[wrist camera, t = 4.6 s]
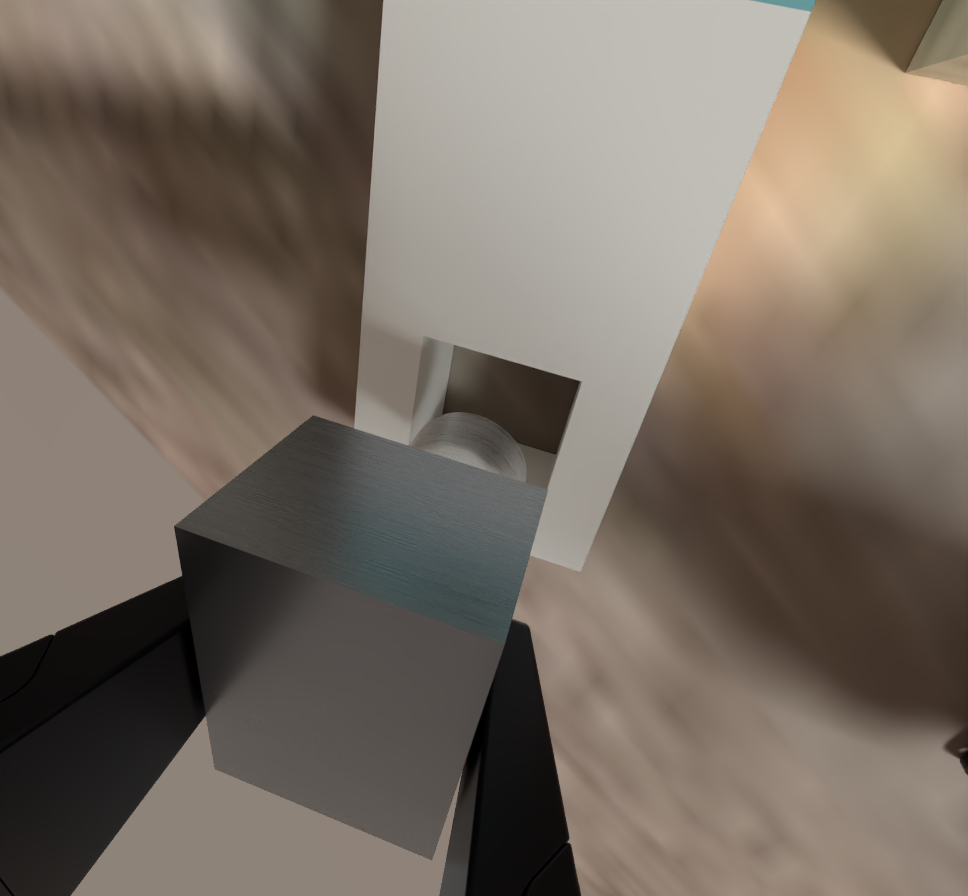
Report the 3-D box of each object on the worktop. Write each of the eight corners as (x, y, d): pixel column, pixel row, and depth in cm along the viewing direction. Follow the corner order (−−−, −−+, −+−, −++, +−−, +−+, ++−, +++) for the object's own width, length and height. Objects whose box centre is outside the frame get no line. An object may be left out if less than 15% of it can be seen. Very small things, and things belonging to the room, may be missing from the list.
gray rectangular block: (576, 390, 11) (504, 645, 6) (518, 570, 14) (431, 859, 8) (406, 340, 12) (173, 526, 6) (384, 524, 15) (214, 768, 9)
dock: (1026, -613, 8) (1259, -1079, 5) (589, 508, 19) (580, 571, 17) (516, -637, 9) (454, -1037, 6) (391, 445, 20) (349, 494, 17)
